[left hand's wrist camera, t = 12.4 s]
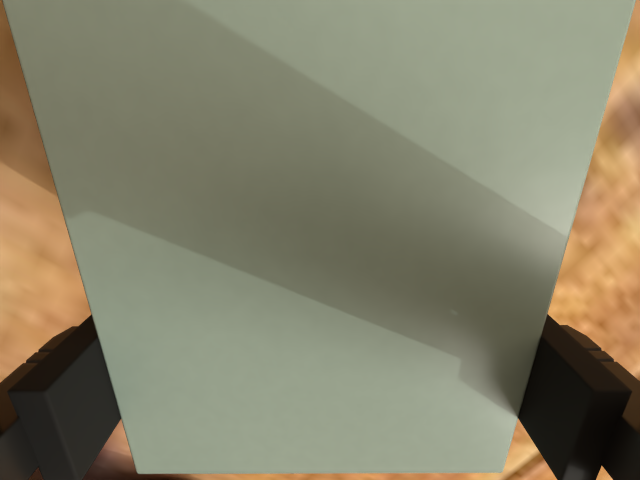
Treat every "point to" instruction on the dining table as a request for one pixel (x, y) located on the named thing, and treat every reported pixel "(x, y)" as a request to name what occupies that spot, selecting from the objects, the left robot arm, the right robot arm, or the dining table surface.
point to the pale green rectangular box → (319, 215)
